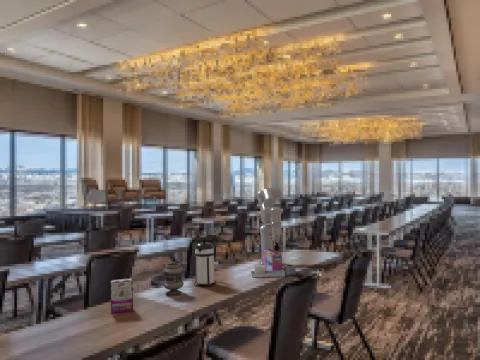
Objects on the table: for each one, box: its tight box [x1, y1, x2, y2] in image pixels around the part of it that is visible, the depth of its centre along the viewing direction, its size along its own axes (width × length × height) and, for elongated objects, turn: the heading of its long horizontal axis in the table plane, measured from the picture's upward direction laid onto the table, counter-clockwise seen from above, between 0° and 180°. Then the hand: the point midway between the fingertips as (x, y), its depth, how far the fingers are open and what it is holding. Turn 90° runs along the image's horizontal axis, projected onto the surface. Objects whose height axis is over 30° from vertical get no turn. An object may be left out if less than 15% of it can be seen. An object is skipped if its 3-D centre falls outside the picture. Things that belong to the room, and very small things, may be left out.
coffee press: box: [193, 238, 217, 288], centre depth 262 cm, size 17×16×30 cm
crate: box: [254, 264, 266, 274], centre depth 282 cm, size 7×6×7 cm
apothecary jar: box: [162, 262, 185, 297], centre depth 240 cm, size 12×12×18 cm
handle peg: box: [273, 240, 280, 254], centre depth 287 cm, size 3×3×10 cm
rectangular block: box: [250, 268, 286, 278], centre depth 282 cm, size 10×23×3 cm, turn 92°
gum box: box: [261, 249, 283, 271], centre depth 304 cm, size 24×8×14 cm, turn 17°
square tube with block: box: [283, 264, 297, 276], centre depth 288 cm, size 12×7×6 cm, turn 2°
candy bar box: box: [110, 277, 134, 314], centre depth 208 cm, size 11×5×16 cm, turn 105°
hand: (276, 250), depth 287 cm, fingers closed on handle peg, 3 cm apart
